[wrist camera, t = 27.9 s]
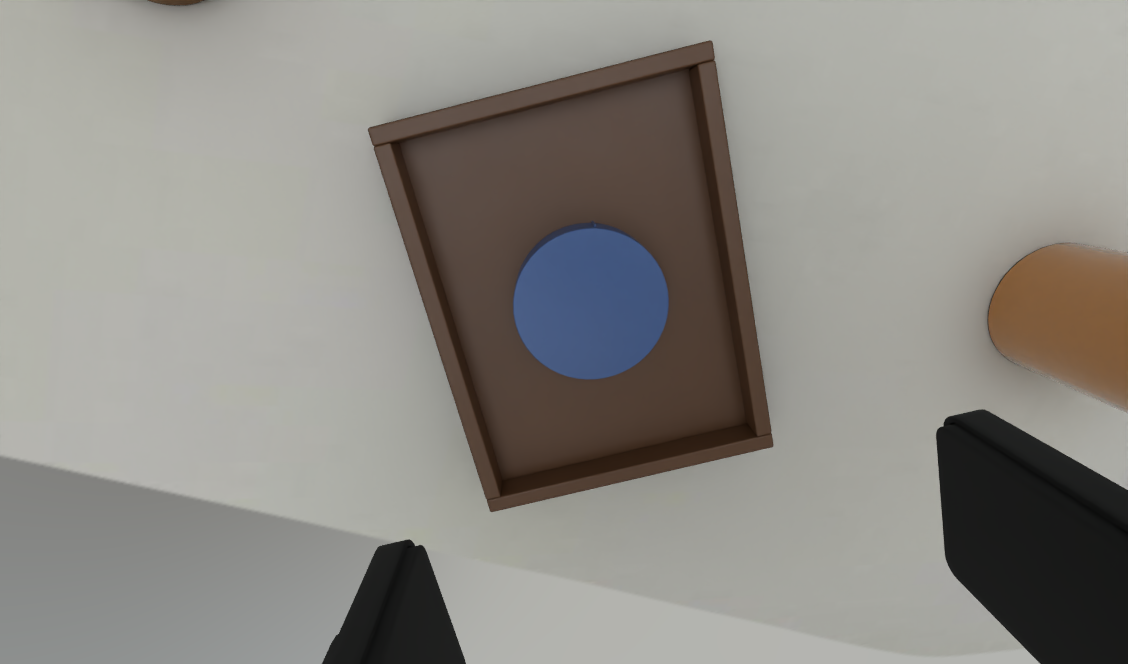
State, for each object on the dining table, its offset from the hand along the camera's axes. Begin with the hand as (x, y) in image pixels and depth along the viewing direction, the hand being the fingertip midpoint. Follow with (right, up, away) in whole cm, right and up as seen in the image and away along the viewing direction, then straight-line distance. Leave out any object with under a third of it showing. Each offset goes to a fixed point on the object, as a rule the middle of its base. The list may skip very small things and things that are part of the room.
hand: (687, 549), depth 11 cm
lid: (-1, +5, +14) cm, 15 cm away
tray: (-1, +6, +16) cm, 17 cm away
